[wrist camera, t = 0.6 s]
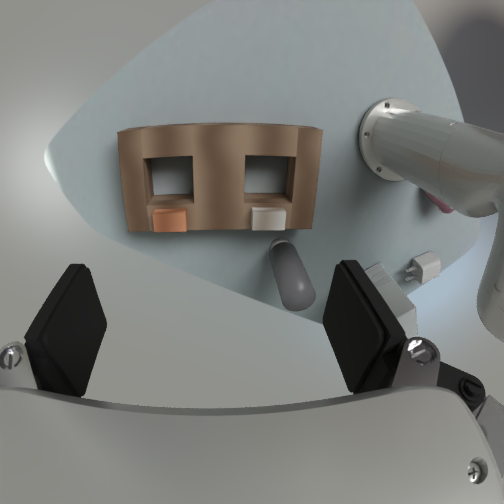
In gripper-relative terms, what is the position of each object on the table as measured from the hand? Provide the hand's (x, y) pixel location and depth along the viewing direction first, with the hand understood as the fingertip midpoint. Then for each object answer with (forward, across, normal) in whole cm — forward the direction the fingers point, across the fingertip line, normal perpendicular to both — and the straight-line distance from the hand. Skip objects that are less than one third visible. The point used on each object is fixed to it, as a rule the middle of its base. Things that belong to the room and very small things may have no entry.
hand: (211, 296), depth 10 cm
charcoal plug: (+28, -9, +14) cm, 33 cm away
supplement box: (+29, -26, +22) cm, 45 cm away
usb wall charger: (+29, -36, +18) cm, 50 cm away
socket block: (+28, 0, +3) cm, 29 cm away
